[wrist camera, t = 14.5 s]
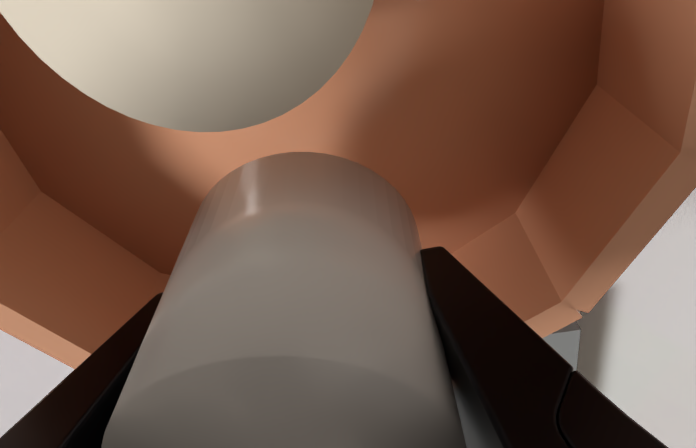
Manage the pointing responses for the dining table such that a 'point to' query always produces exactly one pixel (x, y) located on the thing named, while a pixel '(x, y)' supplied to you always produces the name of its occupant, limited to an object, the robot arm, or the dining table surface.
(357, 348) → the pebble grey
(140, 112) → the pebble sand
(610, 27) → the bowl
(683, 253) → the dining table surface
